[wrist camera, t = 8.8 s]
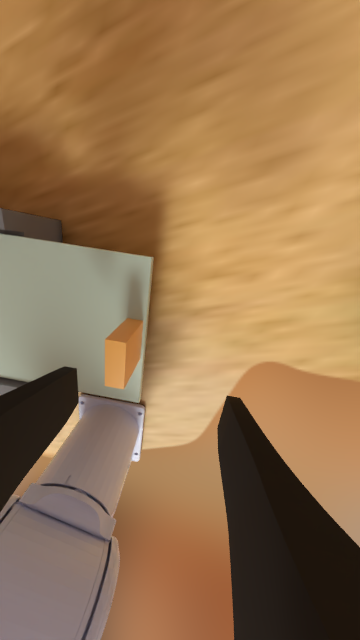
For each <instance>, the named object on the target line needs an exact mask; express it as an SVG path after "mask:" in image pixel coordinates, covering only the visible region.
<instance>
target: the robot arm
mask: <svg viewBox="0 0 360 640" xmlns="http://www.w3.org/2000/svg"><path fill="white" fill-rule="evenodd" d="M78 402H79V417H80V420H79V422H78V423H77V425H76V426H75V427H74V429H73V430H72V432H71V433H70V435H69V436H68V437H67V439H66V440H65V442H64V443H63V445H62V446H61V447H60V449H59V450H58V452H57V453H56V455H55V456H54V457H53V459H52V460H51V462H50V463H49V465H48V466H47V468H46V469H45V470H44V472H43V473H42V475H41V476H40V477H39V479H38V480H37V482H36V483H31V485H30V486H29V487H28V489H27V490H26V491H25V493H24V494H23V496H22V497H20V496H18V495H16V494H14V495H12V494H13V493H14V491H15V490H16V488H17V487H18V485H19V484H20V483H21V481H22V480H23V478H24V477H25V476H26V474H27V473H28V472H29V470H30V469H31V468H32V467H33V465H34V464H35V463H36V461H37V460H38V459H39V458H40V456H41V455H42V454H43V452H44V451H45V450H46V449H47V447H48V446H49V445H50V443H51V442H52V441H53V439H54V438H55V437H56V436H57V434H58V433H59V432H60V430H61V429H62V428H63V426H64V425H65V424H66V422H67V421H68V419H69V417H70V416H71V414H72V413H73V411H74V409H75V407H76V406H77V404H78ZM140 412H141V413H140ZM144 415H145V407H144V406H143V405H139V404H133V403H128V402H123V401H117V400H112V399H107V398H101V397H96V396H90V395H85V394H82V395H80V396H79V397H78V379H77V368H72V367H66V366H64V367H61V368H59V369H57V370H55V371H52V372H50V373H48V374H46V375H44V376H42V377H40V378H37V379H35V380H33V381H31V382H29V383H27V384H25V385H22V386H20V387H18V388H16V389H14V390H12V391H10V392H7V393H5V394H3V395H0V640H101V637H102V634H103V631H104V628H105V624H106V621H107V618H108V614H109V611H110V607H111V604H112V600H113V596H114V592H115V587H116V583H117V578H118V571H119V563H120V556H119V549H118V541H117V539H116V538H115V537H113V536H112V533H113V529H114V526H115V523H116V519H114V518H112V517H113V515H114V513H115V510H116V507H117V504H118V501H119V498H120V495H121V491H122V488H123V485H124V482H125V479H126V476H127V473H128V470H129V466H130V463H131V461H139V459H140V454H141V444H142V434H143V425H144ZM218 454H219V462H220V468H221V477H222V483H223V490H224V499H225V505H226V513H227V522H228V531H229V546H230V562H231V578H232V599H233V618H234V640H360V547H359V546H358V545H357V544H356V543H355V542H354V541H353V540H352V539H351V538H350V537H349V536H348V534H346V532H345V531H344V530H343V529H342V528H340V526H339V525H338V524H337V523H336V522H335V521H334V520H333V518H332V517H331V516H330V515H329V514H328V513H327V512H326V511H325V510H324V509H323V507H322V506H321V505H320V504H319V503H318V502H317V501H316V499H315V498H314V497H313V496H312V495H311V494H310V492H309V491H308V490H307V489H306V488H305V487H304V485H302V483H301V482H300V481H299V479H298V478H297V477H296V476H295V474H294V473H293V472H292V471H291V470H290V468H289V467H288V466H287V464H286V463H285V462H284V460H283V459H282V458H281V457H280V455H279V454H278V453H277V451H276V450H275V449H274V447H273V446H272V444H271V443H270V441H269V440H268V439H267V437H266V436H265V434H264V433H263V432H262V430H261V429H260V427H259V426H258V424H257V423H256V421H255V420H254V418H253V417H252V415H251V414H250V412H249V411H248V409H247V408H246V406H245V405H244V403H243V402H242V400H241V399H240V398H237V397H232V396H227V397H226V401H225V404H224V407H223V412H222V414H221V418H220V421H219V425H218Z"/></svg>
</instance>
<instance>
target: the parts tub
mask: <svg viewBox="0 0 360 640" xmlns="http://www.w3.org/2000/svg"><path fill="white" fill-rule="evenodd" d="M0 233H3V234H9V235H16V236H22V237H29V238H35V239H41V240H48V241H54V242H60V243H63V240H62V226H61V221H60V220H56V219H51V218H46V217H41V216H36V215H31V214H26V213H22V212H17V211H12V210H7V209H2V208H0ZM27 383H29V382H24V381H18V380H13V379H8V378H2V377H0V395H3V394H5V393H7V392H10V391H12V390H14V389H16V388H18V387H20V386H22V385H25V384H27Z"/></svg>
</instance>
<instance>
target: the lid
mask: <svg viewBox="0 0 360 640" xmlns="http://www.w3.org/2000/svg"><path fill="white" fill-rule="evenodd" d="M153 260H154V257H150V256H143V255H137V254H131V253H124V252H118V251H111V250H105V249H99V248H92V247H86V246H80V245H73V244H67V243H60V242H54V241H48V240H41V239H35V238H29V237H22V236H16V235H9V234H3V233H0V377H2V378H8V379H13V380H18V381H24V382H31V381H33V380H35V379H37V378H40V377H42V376H44V375H46V374H48V373H50V372H52V371H55V370H57V369H59V368H61V367H64V366H66V367H72V368H77V379H78V392H83V393H88V394H94V395H99V396H104V397H110V398H115V399H121V400H126V401H131V402H137V403H139V402H140V399H141V393H142V382H143V371H144V360H145V349H146V338H147V327H148V315H149V304H150V293H151V282H152V271H153Z"/></svg>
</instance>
